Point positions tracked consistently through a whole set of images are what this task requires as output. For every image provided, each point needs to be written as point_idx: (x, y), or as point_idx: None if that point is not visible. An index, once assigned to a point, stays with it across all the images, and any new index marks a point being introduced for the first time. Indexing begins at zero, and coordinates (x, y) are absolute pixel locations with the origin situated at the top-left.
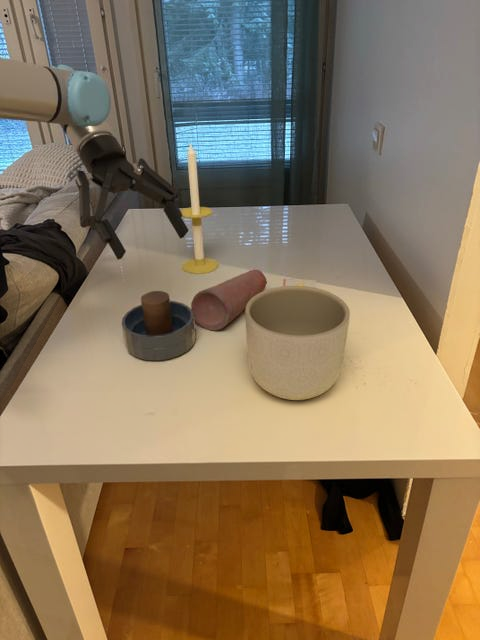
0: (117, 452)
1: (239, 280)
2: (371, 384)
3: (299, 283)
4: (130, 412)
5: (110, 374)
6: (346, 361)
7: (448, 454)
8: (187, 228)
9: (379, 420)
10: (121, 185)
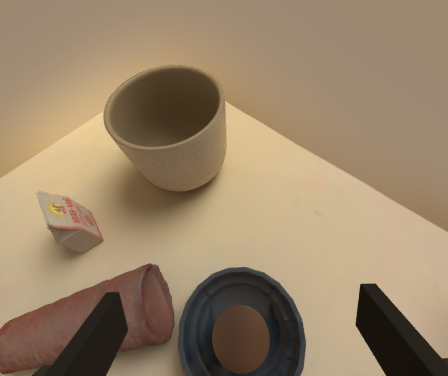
0: (364, 192)
1: (59, 318)
2: None
3: (48, 209)
4: (336, 228)
5: (335, 311)
6: None
7: None
8: (103, 297)
9: None
10: None
